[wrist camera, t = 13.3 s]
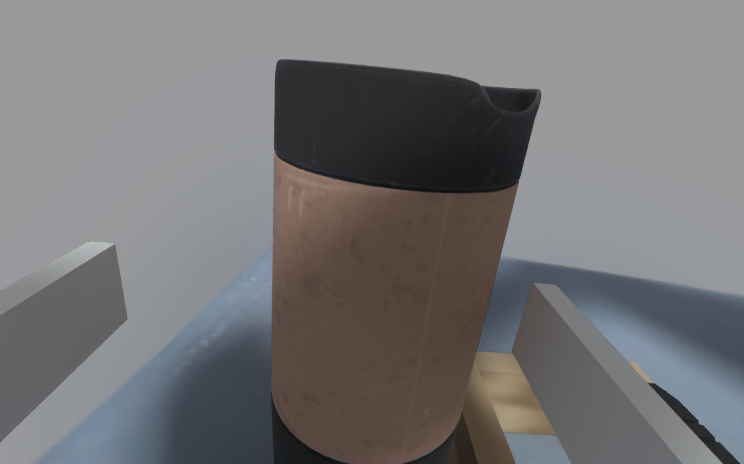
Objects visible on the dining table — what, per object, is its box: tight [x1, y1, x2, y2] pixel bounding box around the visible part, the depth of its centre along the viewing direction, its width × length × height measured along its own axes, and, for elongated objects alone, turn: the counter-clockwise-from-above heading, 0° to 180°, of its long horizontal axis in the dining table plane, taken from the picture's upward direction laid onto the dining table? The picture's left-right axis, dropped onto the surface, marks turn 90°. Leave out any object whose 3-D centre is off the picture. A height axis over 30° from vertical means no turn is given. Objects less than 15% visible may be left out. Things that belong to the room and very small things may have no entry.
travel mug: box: [271, 59, 541, 464], centre depth 14 cm, size 8×8×20 cm
